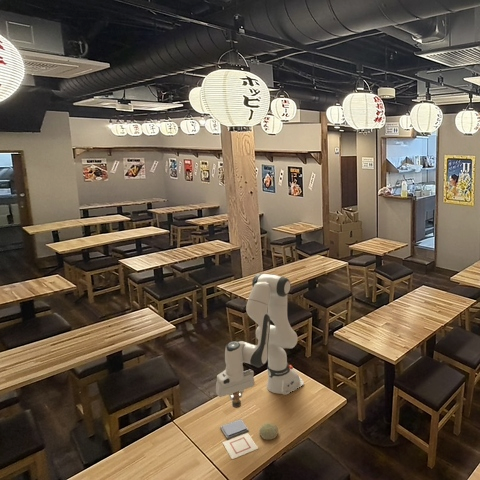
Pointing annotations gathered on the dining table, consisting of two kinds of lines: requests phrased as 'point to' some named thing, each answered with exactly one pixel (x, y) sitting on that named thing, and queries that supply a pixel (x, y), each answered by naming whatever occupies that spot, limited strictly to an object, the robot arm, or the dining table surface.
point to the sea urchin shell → (268, 431)
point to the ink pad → (234, 429)
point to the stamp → (236, 400)
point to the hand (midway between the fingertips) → (236, 398)
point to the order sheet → (240, 445)
